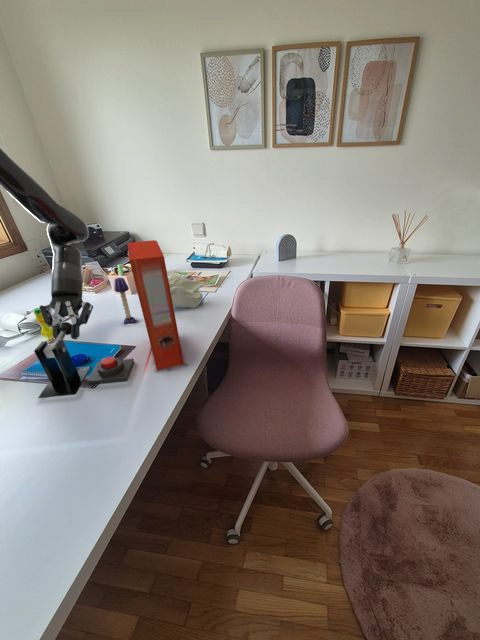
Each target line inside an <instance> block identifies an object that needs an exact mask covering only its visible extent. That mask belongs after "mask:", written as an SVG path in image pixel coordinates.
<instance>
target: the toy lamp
mask: <svg viewBox="0 0 480 640" xmlns="http://www.w3.org/2000/svg"><path fill="white" fill-rule="evenodd" d="M113 288H114V292H116V293H119V294H120V298H121V302H122V306H123V311H124V314H125V318H124V319H123V324H124V325H133V324H135V323H136V322H137V320H136V318H135V317H133V316H132V315H131V311H130V307H129V302H128V298H127V295H126V292H127V291H129V290H130V287H129V286H128V284H127V282H126V280H125V278H123V277H116V278H115V279H114V287H113Z"/></svg>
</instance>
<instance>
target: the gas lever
mask: <svg viewBox="0 0 480 640" xmlns="http://www.w3.org/2000/svg"><path fill="white" fill-rule="evenodd" d="M71 325H72V322H68V321H63V323H61V324H60V325H59V332H60V333H59V335H58V336H57V338H56V339H55V338H54V341H53V342H52V343H48V344H47V346H46V347H45V349H44V350H43V352H44V354H45V356H46V357H47V358H55V356H54V354H53V352H52V350H51V349H52V348H53V347H54V345H55V344H56V343H57V342H58V341H59V340H63V341H64V339H65V337H66V336H71ZM55 359H56V358H55Z"/></svg>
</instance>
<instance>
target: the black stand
mask: <svg viewBox="0 0 480 640" xmlns="http://www.w3.org/2000/svg"><path fill="white" fill-rule="evenodd" d="M47 344H49V343H48V341H47V340H44V341H41V342H40V343H39V344H38V345H37V347H35V349H34V351H33V352H34V354H35V355H36V357H37V359H38V361H39V363H40V365H41V367H42V369H43V370H44V372H45V374H46V376H47V378H48V380H49V381H48V383H47V384H46V385H45V387H44V389H43V390H42V391H41V393H40V394H39V396H38V397H37V398H38V399H44V398H54V397H64V396H74V395H77V393H78V391H80V388H81V386H82V384H83V383H84V380H85V379H86V377H87V376H88V374H89V372H90V370H91V369H92V366H91V365H90V366H79V367H76V366H75V363H74V361H73V359H72V356H71V354H70V352H69V350H68V347H67V346H66V343H65V341H64V339H63V340H59V341H58V342H57V343H56V344H55V345H54V347H53V348H52V349H51V350H52V352H53V354H54V356H55V358H47V357H46V356H45V354H44V352H43V350H44V349H45V347H46V346H47Z"/></svg>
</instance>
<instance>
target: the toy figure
mask: <svg viewBox="0 0 480 640" xmlns="http://www.w3.org/2000/svg"><path fill="white" fill-rule="evenodd" d="M33 311H34V312H33V313H34V316H35V318H36V321H37V323H39V325H40V326H41V327H42V328H41V331H40V334H41V336H43V337H45V338H47V339H48V340H50V339H54V338H53V328H52V327H51V326H49V325H47V324H46V323H45V321H44V318H43V316H42V313H41V311H40V308H39V307H36V308H33Z"/></svg>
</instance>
